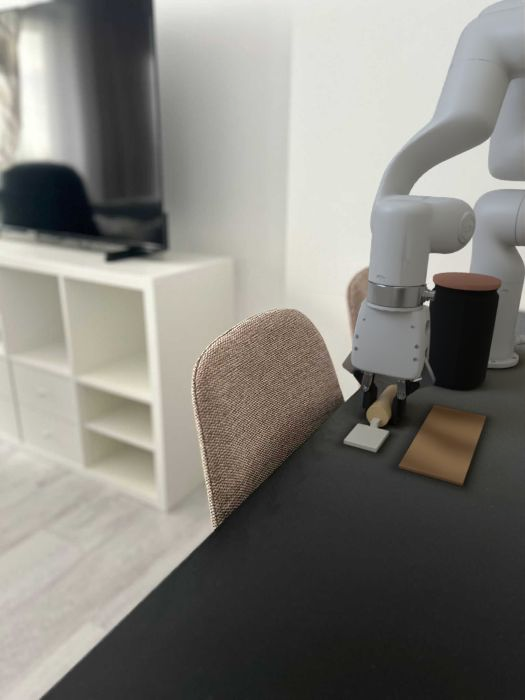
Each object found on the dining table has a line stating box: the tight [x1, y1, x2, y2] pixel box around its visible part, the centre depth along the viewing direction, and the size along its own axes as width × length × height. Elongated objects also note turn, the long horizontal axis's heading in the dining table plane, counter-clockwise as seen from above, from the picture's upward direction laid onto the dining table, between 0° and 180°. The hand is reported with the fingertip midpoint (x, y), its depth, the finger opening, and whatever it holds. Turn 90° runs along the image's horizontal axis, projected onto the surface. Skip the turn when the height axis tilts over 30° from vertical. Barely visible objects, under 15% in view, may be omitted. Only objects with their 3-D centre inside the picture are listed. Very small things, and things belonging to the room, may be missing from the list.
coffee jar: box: [428, 271, 502, 391], centre depth 87 cm, size 11×11×18 cm
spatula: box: [343, 384, 397, 453], centre depth 73 cm, size 16×4×3 cm, turn 150°
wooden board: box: [398, 404, 487, 487], centre depth 69 cm, size 20×8×1 cm, turn 150°
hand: (382, 415), depth 75 cm, fingers closed on spatula, 3 cm apart
